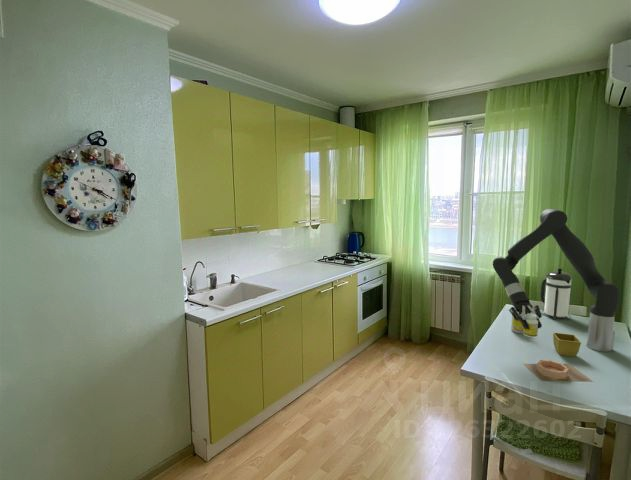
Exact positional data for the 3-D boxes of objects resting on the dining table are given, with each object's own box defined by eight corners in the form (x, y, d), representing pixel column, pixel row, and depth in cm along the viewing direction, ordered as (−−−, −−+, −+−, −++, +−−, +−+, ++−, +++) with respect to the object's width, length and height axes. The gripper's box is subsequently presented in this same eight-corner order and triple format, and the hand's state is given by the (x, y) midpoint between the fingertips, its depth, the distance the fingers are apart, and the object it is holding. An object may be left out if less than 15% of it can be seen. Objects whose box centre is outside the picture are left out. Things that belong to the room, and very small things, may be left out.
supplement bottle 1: (527, 333, 187) (528, 311, 185) (513, 333, 188) (515, 310, 186) (522, 328, 194) (524, 306, 192) (509, 328, 195) (510, 306, 193)
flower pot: (572, 352, 166) (574, 334, 164) (579, 361, 157) (581, 342, 156) (551, 349, 168) (552, 332, 167) (557, 358, 160) (558, 339, 159)
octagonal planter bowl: (556, 366, 151) (557, 359, 150) (573, 379, 140) (574, 372, 140) (532, 366, 151) (532, 359, 151) (546, 379, 141) (547, 372, 140)
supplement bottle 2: (520, 333, 161) (521, 313, 159) (531, 332, 161) (533, 312, 160) (528, 338, 155) (530, 317, 154) (540, 337, 156) (541, 316, 154)
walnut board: (569, 366, 153) (569, 363, 153) (592, 384, 139) (593, 381, 139) (522, 366, 154) (522, 363, 154) (541, 383, 140) (541, 380, 140)
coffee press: (572, 315, 212) (577, 267, 208) (568, 323, 200) (573, 272, 196) (539, 309, 224) (543, 263, 219) (533, 315, 212) (537, 268, 208)
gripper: (507, 291, 162) (523, 326, 152) (535, 289, 164) (553, 323, 154) (499, 299, 168) (514, 332, 158) (526, 297, 170) (543, 330, 160)
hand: (533, 328), depth 156 cm, fingers closed on supplement bottle 2, 5 cm apart
